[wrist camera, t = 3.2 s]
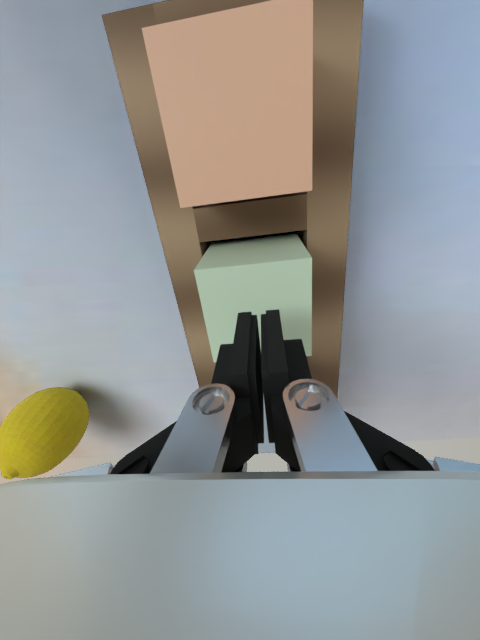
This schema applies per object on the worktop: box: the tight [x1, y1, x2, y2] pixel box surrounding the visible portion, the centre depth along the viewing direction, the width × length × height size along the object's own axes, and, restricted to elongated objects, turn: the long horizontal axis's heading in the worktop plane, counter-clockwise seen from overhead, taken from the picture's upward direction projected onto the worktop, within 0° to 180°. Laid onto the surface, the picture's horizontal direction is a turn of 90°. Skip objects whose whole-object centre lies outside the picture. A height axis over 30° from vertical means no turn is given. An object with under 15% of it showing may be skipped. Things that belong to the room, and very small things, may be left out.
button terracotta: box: [142, 0, 313, 208], centre depth 11 cm, size 5×5×5 cm
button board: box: [102, 0, 364, 398], centre depth 17 cm, size 24×10×3 cm, turn 7°
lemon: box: [0, 387, 89, 479], centre depth 21 cm, size 6×6×8 cm
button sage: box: [194, 234, 312, 362], centre depth 15 cm, size 5×5×5 cm
